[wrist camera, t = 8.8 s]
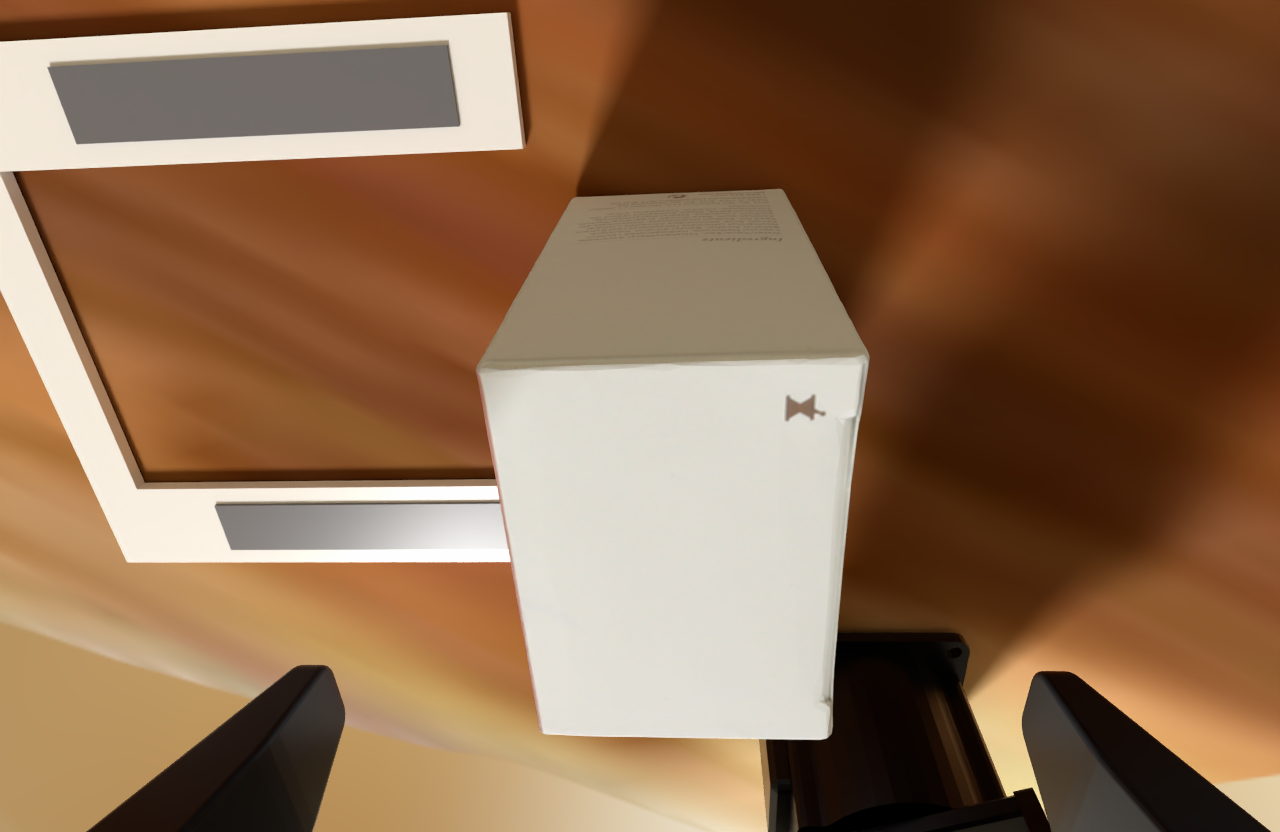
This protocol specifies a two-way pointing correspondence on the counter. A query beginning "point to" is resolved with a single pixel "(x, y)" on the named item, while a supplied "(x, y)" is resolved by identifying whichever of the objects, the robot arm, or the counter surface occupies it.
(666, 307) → the small box
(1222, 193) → the counter surface
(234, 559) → the bracket
